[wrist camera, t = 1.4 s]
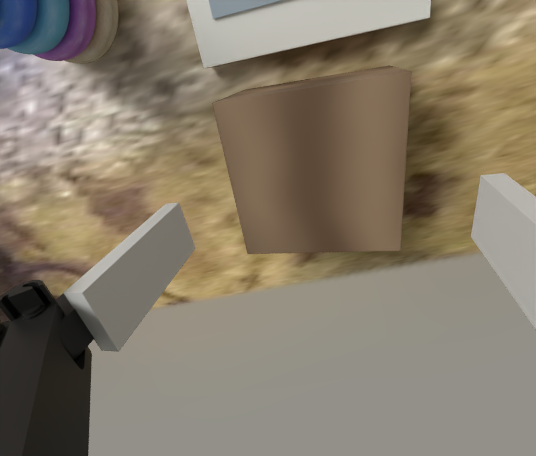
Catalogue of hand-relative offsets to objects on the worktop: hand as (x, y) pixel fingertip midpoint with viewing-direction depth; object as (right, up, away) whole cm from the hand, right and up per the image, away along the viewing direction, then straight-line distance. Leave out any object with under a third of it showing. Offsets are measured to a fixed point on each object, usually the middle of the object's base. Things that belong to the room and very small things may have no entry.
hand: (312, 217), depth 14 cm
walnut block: (+2, +6, +10) cm, 11 cm away
